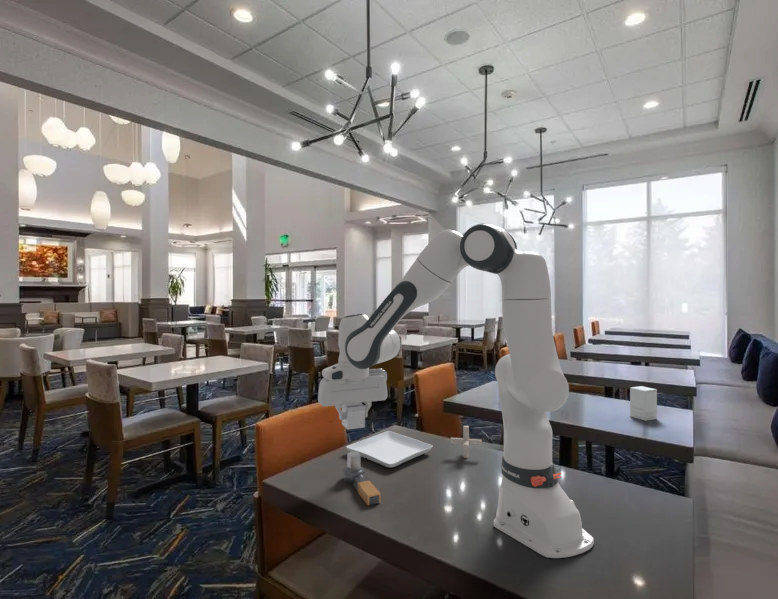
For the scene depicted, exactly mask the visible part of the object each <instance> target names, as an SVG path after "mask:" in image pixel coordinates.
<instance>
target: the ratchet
mask: <svg viewBox="0 0 778 599" xmlns="http://www.w3.org/2000/svg"><path fill="white" fill-rule="evenodd" d="M346 456H347V458H346V460H347V461H346V463H347V464H346V465H347V466H345V467H344V468H343V471H342V472H343V475H342V476H343V478H342V480H343V479H344V480H343V482H344V483H346V482H347V484H349V485H350V484H351V485H353V486H354V488H355V489H356V491H357V494H359V496H360V497H361V499H362V500H363V501H364V502H365V504H366V505H367V506H373V505H378V504H381V492H380V491H379V490H378V489H377V487H375V484H373V483H372V482H371V481H370V480H368V479H366V478H365V468H364V466H362V464H361V460H362V459H361V458H362V457H361V455H360V454H359V453H358V452H357V451H355V452H350V451H349V452H347V453H346Z"/></svg>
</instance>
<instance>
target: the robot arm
mask: <svg viewBox="0 0 778 599" xmlns="http://www.w3.org/2000/svg"><path fill="white" fill-rule="evenodd" d="M545 259H546V258H544V256H542V254H540V253H538V252H535V251H527V250H526V251H525V250H518V246H517V242H516V240H515V238H514V237H513V235H511V234H510V233H509V232H507V231H506V230H505V229H504V228H502V227H500V226H498V225H495V224H491V223H477V224H475V225H473V226H471V227H469V228H468V229H467V230H466V231H465V232H464V233H460V232H459V231H457V230H453V229H449V228H448V229H444V230H441V231H440V232H438V233H437V234H436V235H435V236H434V237H433V238H432V239H431V240H430V241H429V243H428V244H426V246H425V247H424V248H423V250H422V251H421V252H420V253H419V255H418V256H417V258H416V259H415V260H414V261H413V263H412V265H411V266H410V267H409V268H408V270H407V271H406V273H405V274H404V276H402V278H401V279H400V281H399V282H398V283H397V284H396V285H395V287H394V288H393V289H392V290H391V291H390V292H389V294H387V296H386V297H385V298H384V299H383V301H382V302H381V303H380V305H379V306H378V307H377V308H376V309H375V310H374V312H373V313H372V314H371V315H370V317H369V316H368V315H367V314H365V313H358V314H357V313H356V314H350V315H346V316H344V317H342V318H341V320H340V321H339V322H340V323H339V327H338V340H337V341H338V349H339V356H338V360H337V361H338V362H337V363H335V364H333V365H330V366H328V367H325V368H324V369H323V368H322V371H321V375H322V377H323V378H321V379H320V382H319V386H318V392H317V401H318V403H319V404H320V405H321V407H333V406H334V407H335V409H336V411H337V412H338V419H339V420H340V421H342V420H345V419H346V414H345V413H344V412H342V405H343V404H353V403H362V404H363V403H364V404H365V418H368V416H369V415H368V414H369V413H368V412H369V411H370V408H371V407H372V402H378V401H379V402H381V401H386V399H387V398H388V386H387V385H388V384H387V380H388V373H387V371H386V370H385V369H383V368H372V367H373V366H376V365H378V364H381V363H384V362H387V361H390V360H392V359H394V358H396V356H398V355H399V353H400V351H401V347H402V342H401V337H400V335H399V333H398V332H397V331H396V330H395V329H394V328H395V327H396V326H397V325H398V323H399V322H400V321H401V320H402V319H403V318H404V317H405V316H407V314H408V313H410V312H411V311H414V310H415V309H418V308H419V307H421V306H425V305H427V304H430V303H432V302H435V301H436V300H437V299H439V297H441V296H442V295H443V294H444V293H445V292H446V291H447V290H448V288H449V287H450V286H451V284H452V283H453V282H454V280H455V279H456V278H457V276H458V275H459V273H461V271H462V270H463V269H465V268H467V267H469V266H470V267H471V268H473V269H475V270H479V271H483V272H487V273H490V274H494V275H497V276H498V278H499V279H500V283H501V299H502V300H501V303H502V304H501V305H502V307H501V308H502V309H501V310H502V312H501V313H502V332H503V336H504V338H505V340H506V343H507V344H506V345H507V347H508V352H509V353H508V354H505V355H504V356H502V357H500V358H499V359H498V361H497V362H496V364H495V368H494V375H495V376H494V377H495V378H496V382H497V388H498V395H499V396H498V397H499V403H500V410H501V415H502V421H503V424H502V425H503V456H502V457H501V463H500V467H501V475H502V480H501V484H500V487H499V491H498V498H497V506H496V507H497V509H496V512H495V518H494V519H493V524H492V525H493V527H495V529H497V530H498V531H501V533H505V535H507V536H509V537H511V538H512V539H514V540H516V541H517V542H519V543H520V544H523V545H524V546H525V547H528V548H530V549H531V550H533V551H534V552H536V553H537V554H539V555H541V556H543V557H545V558H548V559H549V558H551V559H561V558H562V559H563V558H569V557H575V556H577V555H580V554H581V555H582V554H584V553H586V552H587V551H589V550H591V548H593V546H594V543H595V540H594V539H595V538H594V536H592V535H591V534H590V533H588V532H587V531H586V530H585V529H584V528H583V524H582V518H581V513H580V511H579V509H578V508H577V507H576V504H575V501H574V500H572V499H570V497H569V496H568V494H567V493H566V491H564V489H563V488H562V486H561V485H560V483H559V479H560V478H562V476H560V475H562V472H556V467H555V464H554V461H553V429H552V425H551V423H550V420H549V417H548V413H553V412H555V411H557V410H559V409H561V407H563V406H564V405H565V403H566V402H567V400H568V398H569V393H570V385H569V383H568V380H567V378H566V376H565V375H564V372H563V370H562V367H561V363H560V359H559V356H558V353H557V352H558V351H557V347H556V343H555V339H554V334H553V333H554V332H553V319H552V318H553V317H552V290H551V289H552V288H551V282H550V274H549V268H548V265H547V261H546V260H545Z"/></svg>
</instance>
